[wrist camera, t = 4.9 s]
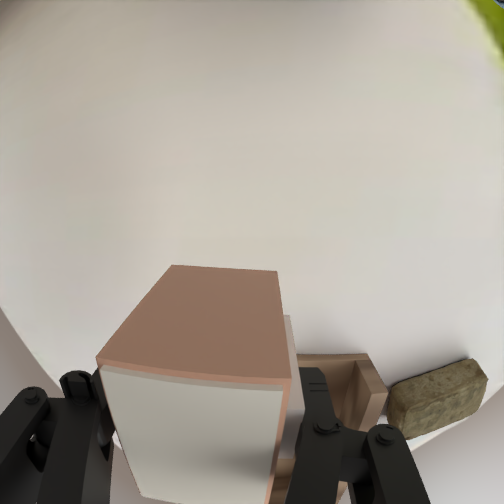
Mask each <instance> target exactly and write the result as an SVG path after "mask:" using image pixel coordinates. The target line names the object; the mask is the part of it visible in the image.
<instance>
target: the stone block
mask: <svg viewBox="0 0 504 504" xmlns="http://www.w3.org/2000/svg"><path fill="white" fill-rule="evenodd" d="M487 381H488V378H487V376H486V375H485V373H484V372H483V370H482V369H481V367H480V366H479V364H478V363H477V361H475V360H474V359H473V358H472V359H465V360H462V361H460V362H457V363H453V364H450V365H448V366H446V367H443V368H440V369H437V370H434V371H431V372H429V373H425V374H423V375H421V376H417V377H413V378H410V379H407V380H404V381H402V382H399V383H398V384H396V385H395V386H393V387H392V389H391V394H390V399H389V404H388V410H387V421H388V424H389V425H392V426H395V427H396V428H398V429H399V430H400V431H401V432H402V434H403V435H404V437H405V440H410V439H413V438H416V437H418V436H420V435H424V434H427V433H430V432H432V431H435V430H437V429H440V428H442V427H444V426H447V425H449V424H451V423H453V422H456V421H459V420H462V419H464V418H465V417H467V416H470V415H472V414H473V413H475V412H476V411H477V410H478V408H479V406H480V404H481V402H482V399H483V396H484V393H485V391H486V385H487Z"/></svg>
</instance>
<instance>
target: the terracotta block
mask: <svg viewBox="0 0 504 504" xmlns="http://www.w3.org/2000/svg"><path fill="white" fill-rule="evenodd" d="M96 361H97V365H98V369H99V374H100V378H101V381H102V385H103V389H104V393H105V396H106V400H107V403H108V407H109V410H110V413H111V417H112V420H113V423H114V426H115V429H116V432H117V435H118V438H119V441H120V444H121V447H122V449H123V452H124V455H125V457H126V460H127V463H128V465H129V468H130V470H131V473H132V475H133V478H134V480H135V483H136V485H137V487H138V490H139V492H140V493H141V495H142V496H144V497H148V498H153V499H157V500H162V501H167V502H173V503H179V504H269V499H270V495H271V490H272V485H273V480H274V476H275V471H276V466H277V461H278V456H279V450H280V445H281V440H282V434H283V429H284V423H285V417H286V412H287V406H288V400H289V394H290V387H291V381H292V376H291V368H290V360H289V353H288V345H287V338H286V330H285V323H284V316H283V309H282V302H281V295H280V288H279V281H278V274H277V271H265V270H248V269H231V268H215V267H199V266H184V265H171V266H170V268H169V269H168V270H167V271H166V272H165V273H164V274H163V276H162V277H161V278H160V279H159V280H158V281H157V283H156V284H155V285H154V286H153V287H152V289H151V290H150V291H149V292H148V293H147V294H146V296H145V297H144V298H143V299H142V300H141V302H140V303H139V304H138V305H137V306H136V308H135V309H134V310H133V311H132V312H131V314H130V315H129V316H128V317H127V319H126V320H125V321H124V322H123V323H122V325H121V326H120V327H119V328H118V330H117V331H116V332H115V333H114V335H113V336H112V337H111V338H110V339H109V341H108V342H107V343H106V345H105V346H104V347H103V348H102V350H101V351H100V352H99V353H98V355H97V356H96Z"/></svg>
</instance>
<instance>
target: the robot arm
mask: <svg viewBox="0 0 504 504" xmlns="http://www.w3.org/2000/svg"><path fill="white" fill-rule="evenodd" d="M494 1H495V2H496V3H497V4H498V5H499V6H501V7H502V8H504V0H494ZM283 316H284V323H285V330H286V338H287V345H288V353H289V360H290V368H291V376H292V381H291V387H290V394H289V400H288V406H287V412H286V417H285V423H284V429H283V434H282V440H281V445H280V450H279V456H278V459H293V457H294V453H295V459H296V461H295V464H294V468H293V471H292V475H291V479H290V482H289V486H288V489H287V493H286V496H285V500H284V503H283V504H336V498H337V491H338V484H339V481H343V482H347V484H348V489H349V494H350V499H351V504H431V503H430V500H429V498H428V495H427V492H426V490H425V487H424V484H423V482H422V479H421V477H420V475H419V472H418V469H417V467H416V464H415V462H414V459H413V457H412V455H411V452H410V449H409V447H408V445H407V442H406V440H405V437H404V435H403V434H402V432H401V431H400V430H399V429H398V428H396V427H395V426H392V425H389V424H378V425H375V426H373V427H372V428H370V429H369V431H368V432H364V431H358V430H353V429H349V428H347V427H345V426H344V425H343V423H342V422H341V421H340V419H338V418H336V416H335V412H334V408H333V404H332V400H331V397H330V393H329V389H328V385H327V382H326V378H325V375H324V374H323V372H322V371H321V370H320V369H319V368H318V367H298V362H297V356H296V350H295V344H294V338H293V333H292V327H291V321H290V315H283ZM59 381H60V384H61V387H62V390H63V393H64V395H65V398H48V396H47V394H46V392H45V391H44V390H43V389H41V388H39V387H28V388H25V389H23V390H22V391H21V392H20V393H19V394H18V395H17V396H16V397H15V398H14V400H13V401H12V402H11V403H10V404H9V405H8V407H7V408H6V409H5V410H4V411H3V413H2V414H1V415H0V504H36V502H37V504H109V503H110V485H111V471H112V460H113V449H114V442H113V439H112V436H113V434H114V431H115V426H114V423H113V420H112V417H111V413H110V410H109V407H108V403H107V400H106V396H105V393H104V389H103V385H102V381H101V378H100V374H99V369H98V368H97V370H95V372H94V373H93V375H91V374H89V373H88V372H86V371H81V370H78V371H71V372H68V373H66V374H64V375H63V376H62V377H61V378H60V380H59ZM32 435H34V436H33V438H32V439H30V438H31V437H32Z"/></svg>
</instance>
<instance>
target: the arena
mask: <svg viewBox="0 0 504 504" xmlns="http://www.w3.org/2000/svg"><path fill="white" fill-rule="evenodd" d="M296 356H297V362H298V367H318V368H319V369H320V370H321V371H322V372H323V374H324V375H325V378H326V382H327V385H328V389H329V393H330V397H331V400H332V404H333V408H334V412H335V416H336V418H338V419H340V421H341V422H342V423H343V425H344V426H345V427H347V428H349V429H353V430H358V431H364V432H368V431H369V429H370V428H372V427H373V426H375V425H376V424H377V421H378V419H379V416H380V414H381V411H382V409H383V406H384V403H385V401H386V398H387V395H388V393H389V392H388V391H387V389H386V387H385V385H384V383H383V381H382V379H381V378H380V376H379V374H378V372H377V370H376V369H375V367H374V365H373V363H372V361H371V360H370V358H369V356H368V354H343V355H300V354H296ZM295 461H296V459H295V453H294V457H293V459H278V461H277V466H276V471H275V476H274V480H273V485H272V490H271V495H270V499H269V504H283V503H284V500H285V496H286V493H287V489H288V486H289V482H290V479H291V475H292V471H293V468H294V464H295ZM347 485H348V484H347V482H343V481H339V484H338V491H337V498H336V504H338V502H339V500H340V498H341V496H342V495H343V493H344V491H345V489H346V487H347ZM178 504H179V503H178Z"/></svg>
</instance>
